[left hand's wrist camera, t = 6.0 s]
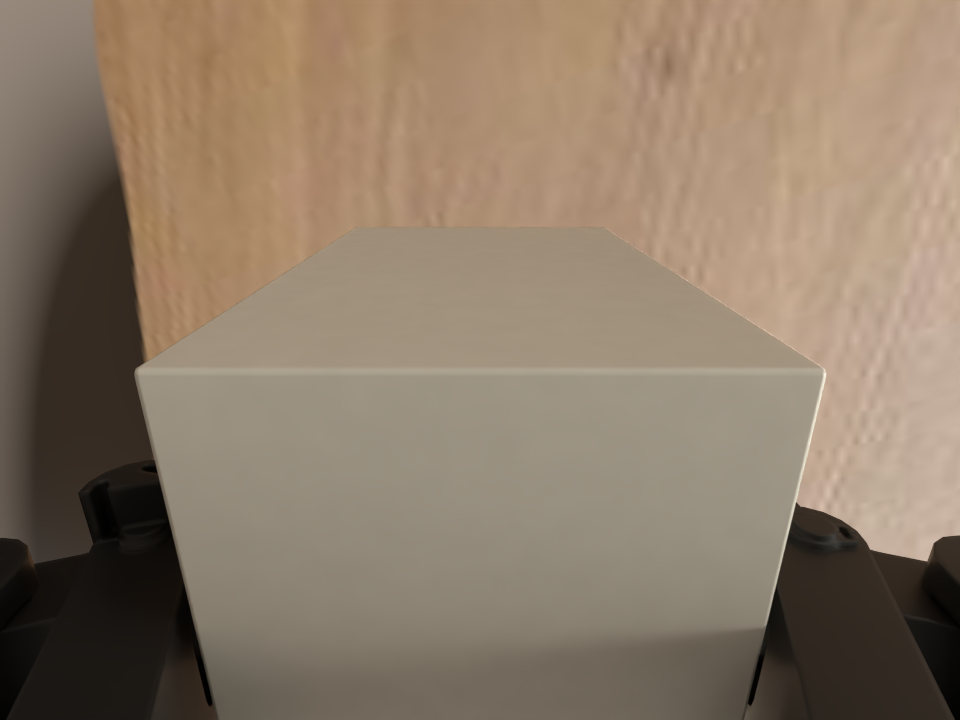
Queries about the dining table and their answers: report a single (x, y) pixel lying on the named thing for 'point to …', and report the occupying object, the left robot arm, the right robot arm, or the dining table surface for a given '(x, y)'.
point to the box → (480, 482)
